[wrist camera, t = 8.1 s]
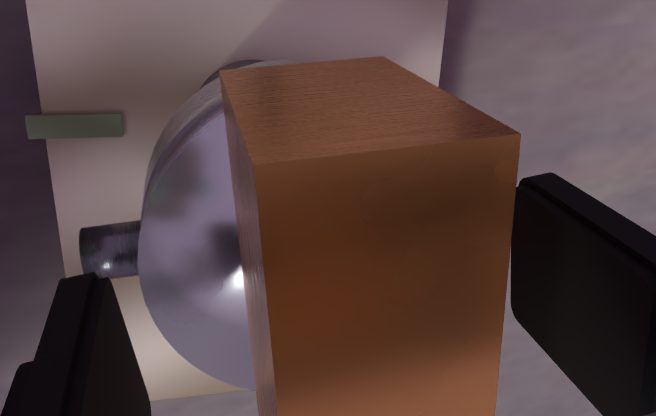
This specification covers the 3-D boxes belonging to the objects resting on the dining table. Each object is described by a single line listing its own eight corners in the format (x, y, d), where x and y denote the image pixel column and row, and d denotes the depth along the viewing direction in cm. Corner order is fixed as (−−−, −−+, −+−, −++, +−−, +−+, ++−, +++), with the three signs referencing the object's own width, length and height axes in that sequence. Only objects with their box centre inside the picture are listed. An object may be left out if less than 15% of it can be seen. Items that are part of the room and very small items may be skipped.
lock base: (391, 344, 30) (471, 492, 22) (78, 378, 27) (38, 567, 19) (451, -246, 21) (630, -361, 13) (-22, -305, 17) (-188, -513, 9)
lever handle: (421, 25, 15) (675, 114, 7) (415, 308, 18) (585, 566, 11) (56, 54, 13) (-93, 205, 6) (124, 359, 16) (86, 704, 9)
